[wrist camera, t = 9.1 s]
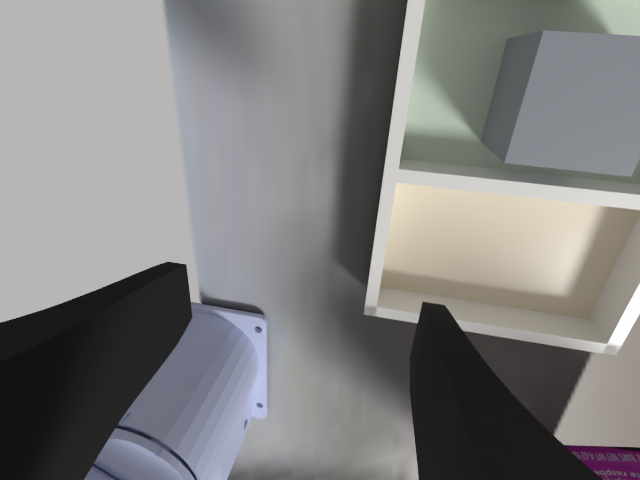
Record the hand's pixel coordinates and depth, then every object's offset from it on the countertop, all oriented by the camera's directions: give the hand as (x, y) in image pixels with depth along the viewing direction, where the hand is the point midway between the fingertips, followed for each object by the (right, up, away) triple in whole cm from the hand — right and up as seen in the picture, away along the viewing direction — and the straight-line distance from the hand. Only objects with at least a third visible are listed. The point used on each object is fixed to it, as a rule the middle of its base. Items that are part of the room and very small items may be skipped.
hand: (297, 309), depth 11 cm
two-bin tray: (+10, +5, +6) cm, 13 cm away
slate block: (+10, +8, +4) cm, 13 cm away
